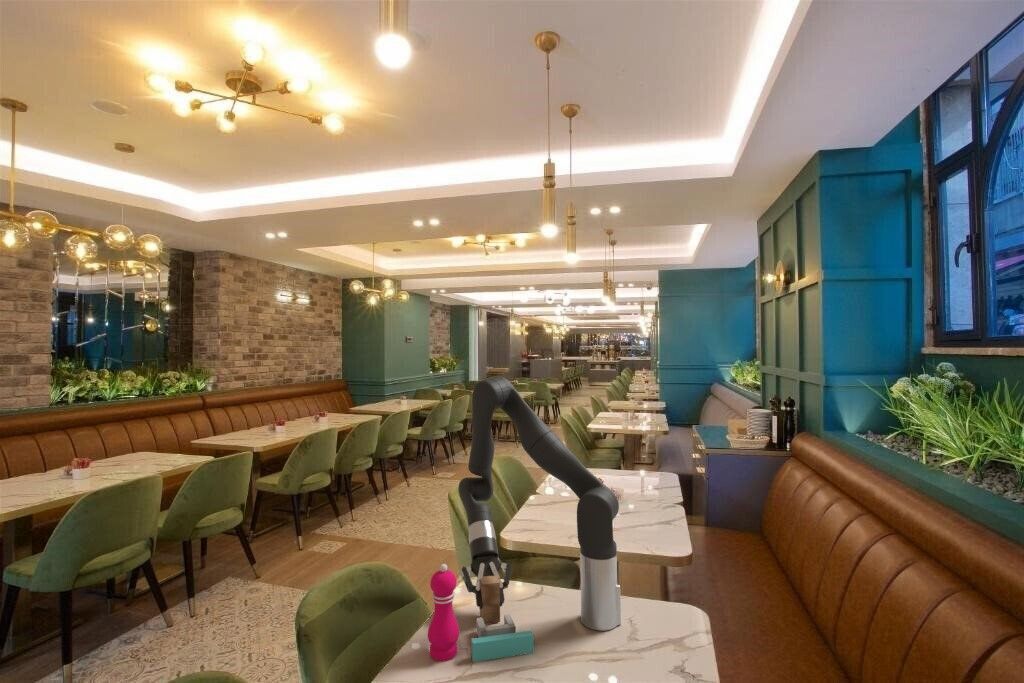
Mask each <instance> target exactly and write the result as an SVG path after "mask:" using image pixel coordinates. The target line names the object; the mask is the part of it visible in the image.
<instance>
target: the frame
mask: <svg viewBox="0 0 1024 683" xmlns="http://www.w3.org/2000/svg"><path fill="white" fill-rule="evenodd" d="M503 617H504V618H503V624H499V625H491V626H486V624H485V623H484V621H483V618H480V617H477V618H476V633H477V636H478V637H477V638H480V637H487V636H495V635H502V634H509V633H516V630H517V629H516V627H517V626H516V624H515V622H514V619H513V618H512V616H511V613H508V614H504V615H503Z"/></svg>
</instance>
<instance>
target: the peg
mask: <svg viewBox="0 0 1024 683" xmlns="http://www.w3.org/2000/svg"><path fill="white" fill-rule="evenodd" d="M480 585H481V588H480V591H481V594H482V603H483V607H482V609H479V618H480V617H481V618H483V621H484V623H485V625H490V624H489V623H492V624H499V623H498V622H500V623H501V607H500V582H499V580H498V578H497V576H494V575H493V576H484V577H482V578H480Z"/></svg>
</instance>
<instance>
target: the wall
mask: <svg viewBox="0 0 1024 683" xmlns="http://www.w3.org/2000/svg"><path fill="white" fill-rule="evenodd" d="M534 639H535V638H534V634H533V631H532V630H526V631H519V632H518V631H517V632H516V633H509V634H502V635H495V636H487V637H480V638H479V637H475V638H471V660H472V662H473V663H475V662H476V661H477V662H482V661H481V660H483V661H489V660H488V659H490V660H495V658H497V659H502V657H504V658H508V657H507V656H510V657H514V656H513V655H517V656H520V655H519V654H524V655H526V654H525V653H530V654H534V653H533V652H535V651H534V647H535V645H534V644H535V643H534Z"/></svg>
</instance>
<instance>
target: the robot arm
mask: <svg viewBox="0 0 1024 683" xmlns="http://www.w3.org/2000/svg"><path fill="white" fill-rule="evenodd" d="M471 396H472V397H471V398H472V399H471V407H472V408H471V412H472V415H471V416H472V418H471V420H472V421H471V422H472V425H471V428H472V434H471V436H472V437H471V447H470V451H469V458H468V463H467V464H468V467H467V468H468V471H469V472H470V473H471V474H472V475H474V476H478V477H463V478H462V479H461V480H460V481H459V483H458V488H457V489H458V495H459V498H460V501H461V503H462V505H463V508H464V510H465V512H466V516H467V517H466V518H467V526H468V527H467V528H468V544H469V552H470V559H471V560H470V565H469V566H467V567H466V566H462V568H461V570H460V573H461V574H460V575H461V577H462V580H463V581H464V585H465V587H466V589H467V592H468V593H473V594H474V595H475V603H476V604H475V605H476V607H477V608H478V609H479V610H480V609H482V607H483V603H482V594H481V591H480V588H481V585H480V578H482V577H484V576H493V575H494V576H497V578H498V580H499V582H500V608H501V607H503V605H504V603H505V594H504V590H505V589H507V588H508V587H509V584H510V579H511V570H512V563H511V562H507V563H505V562H502V561H501V559H500V557H499V550H498V543H497V536H496V530H495V528H494V523H493V516H492V511H491V510H492V509H491V507H490V506H489V505H488V504H485V503H481V502H488V501H490V500H491V498H493V495H494V485H493V484H494V483H493V478H492V477H493V476H492V475H493V474H492V473H493V472H492V469H493V467H492V466H493V461H494V456H495V441H494V438H493V435H492V431H491V430H492V429H491V425H492V419H493V416H494V413H495V410H499V409H501V410H502V411H503V412H504V413H505V414H506V415H507V416H508V417H509V419H510V420H511V421H512V422H513V424H514V426H515V428H516V431H517V435H518V438H519V440H520V444H521V446H522V449H524V451H525V453H526V454H527V455H528V456H529V457H530V458H531V460H533V461H534V463H535V464H536V465H537V466H538V467H539V468H540V469H542V470H543V471H545V472H546V473H548V474H549V475H551V476H552V477H554V478H556V479H557V480H558V481H561V482H562V483H563V484H565V485H566V486H567V487H568V488H569V489H570V490H571V491H572V492H573V493H574V494H575V495H576V496H577V498H578V499H579V500H578V502H577V505H576V506H577V507H576V529H577V531H576V532H577V541H578V544H579V547H580V549H579V550H580V553H579V556H580V558H579V560H580V619H581V624H582V625H584V627H586V628H589V629H591V630H594V631H609V630H613V629H614V628H616V627H617V626H620V625H622V608H621V606H622V604H621V602H622V600H621V595H622V594H621V586H620V584H619V583H618V560H617V559H618V558H617V557H618V555H617V554H618V553H617V551H618V550H617V548H618V546H617V543H616V541H615V540H614V528H613V526H614V524H613V520H614V519H615V518H616V517H617V515H618V513H619V510H620V509H619V508H620V503H619V500H618V498H617V496H616V494H615V493H614V492H613V491H612V490H611V488H609V487H608V486H607V484H604V483H603V482H602V481H601V480H600V479H599V478H597V477H596V475H594V474H593V473H592V472H591V471H590V470H589V469H587V468H586V467H585V465H584V464H583V463H582V462H581V461H580V460H579V459H578V458H577V456H576V455H575V454H574V453H573V452H572V451H571V450H570V449H569V448H568V447H567V445H566V444H565V443H564V442H563V441H562V440H561V438H560V437H558V435H557V434H556V433H555V432H554V431H553V430H552V429H551V428H550V427H549V426H548V425H547V424H545V422H544V421H543V420H542V419H541V418H540V417H539V416H538V415H537V414H536V412H535V411H534V410H533V409H532V408H531V407H530V406H529V404H528V403H527V402H526V401H525V399H524V398H523V397H522V396H521V393H519V392H518V390H517V389H516V387H515V386H514V385H513V383H512V382H510V381H509V379H507V378H506V377H504V376H502V375H494V376H491V377H488V378H484V379H482V380H480V381H478V382H477V383H475V385H474V386H473V389H472V395H471ZM500 569H502V572H503V573H504V579H503V582H502V580H501V576H500V574H499V571H500ZM471 572H472V573H473V574H474V575H475V577H476V583H475V585H474V583H473V581H472V579H471V577H470V576H471Z"/></svg>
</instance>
